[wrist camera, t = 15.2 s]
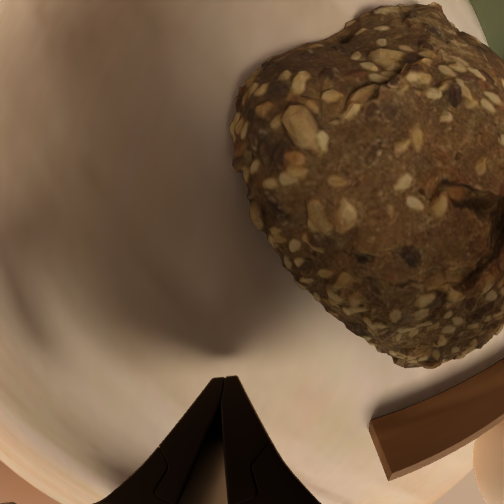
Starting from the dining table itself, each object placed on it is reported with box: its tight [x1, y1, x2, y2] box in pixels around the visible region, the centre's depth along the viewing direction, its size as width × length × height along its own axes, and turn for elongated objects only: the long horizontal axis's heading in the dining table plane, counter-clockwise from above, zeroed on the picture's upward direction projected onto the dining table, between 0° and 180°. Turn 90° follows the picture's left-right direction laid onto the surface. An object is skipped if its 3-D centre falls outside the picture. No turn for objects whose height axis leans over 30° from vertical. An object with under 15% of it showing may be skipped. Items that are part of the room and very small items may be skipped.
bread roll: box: [229, 2, 504, 369], centre depth 6 cm, size 13×12×5 cm
